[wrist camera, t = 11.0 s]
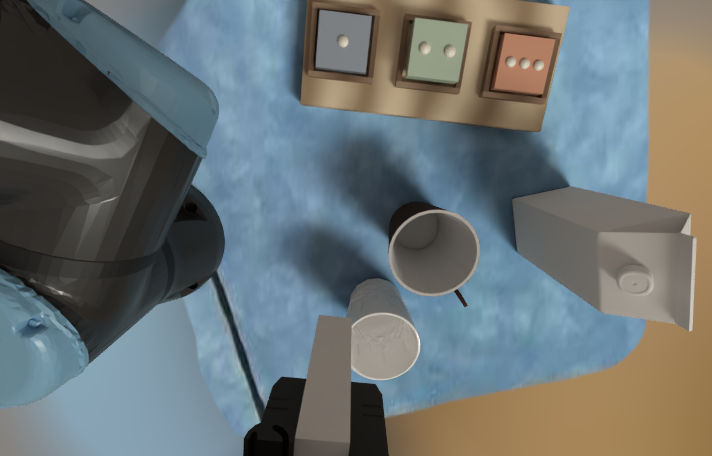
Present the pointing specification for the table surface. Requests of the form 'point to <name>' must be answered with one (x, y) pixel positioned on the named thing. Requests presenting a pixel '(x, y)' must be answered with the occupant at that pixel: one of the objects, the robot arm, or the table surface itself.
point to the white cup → (381, 331)
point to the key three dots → (521, 64)
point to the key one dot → (343, 42)
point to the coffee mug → (432, 249)
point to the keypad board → (426, 98)
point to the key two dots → (436, 50)
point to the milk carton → (611, 251)
